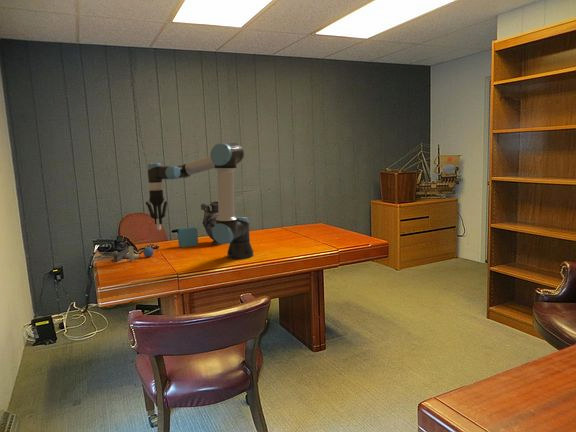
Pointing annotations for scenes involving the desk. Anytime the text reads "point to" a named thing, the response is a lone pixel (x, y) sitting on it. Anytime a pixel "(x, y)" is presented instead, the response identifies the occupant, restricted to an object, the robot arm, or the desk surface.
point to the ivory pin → (134, 256)
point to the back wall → (120, 255)
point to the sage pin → (131, 253)
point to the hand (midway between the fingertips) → (159, 229)
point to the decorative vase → (210, 218)
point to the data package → (188, 237)
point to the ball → (148, 251)
